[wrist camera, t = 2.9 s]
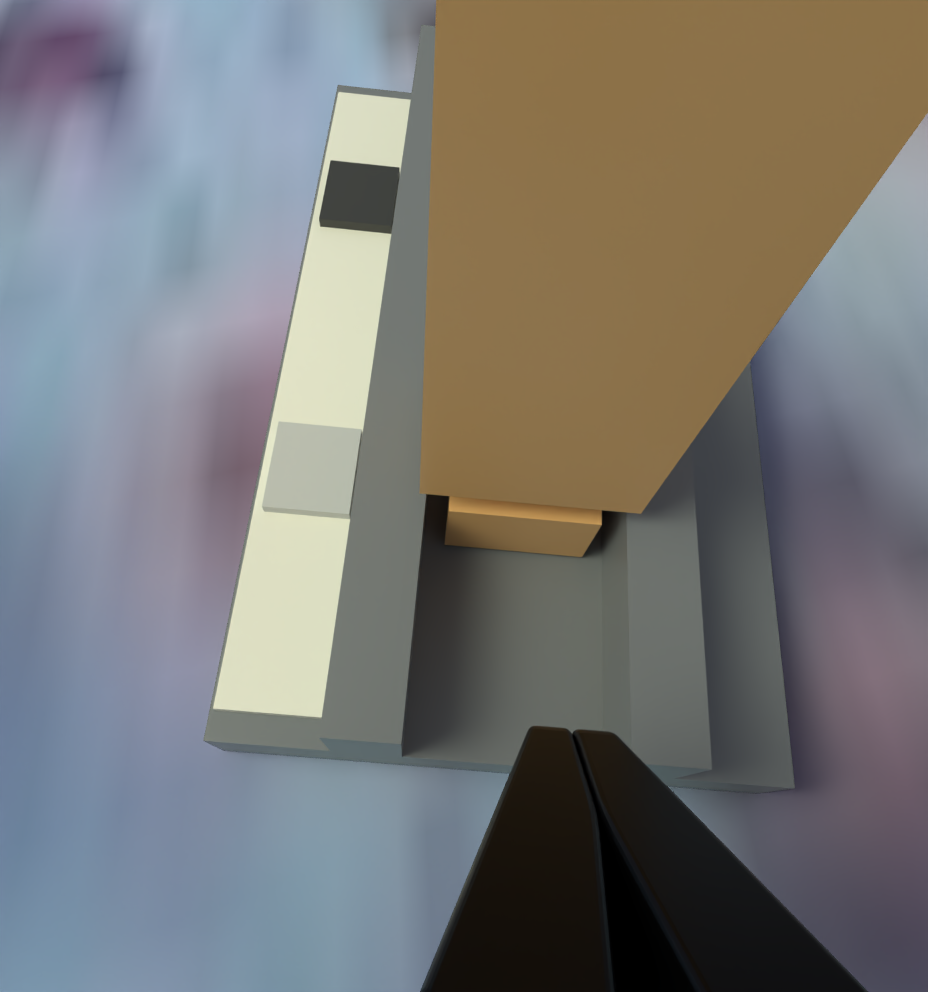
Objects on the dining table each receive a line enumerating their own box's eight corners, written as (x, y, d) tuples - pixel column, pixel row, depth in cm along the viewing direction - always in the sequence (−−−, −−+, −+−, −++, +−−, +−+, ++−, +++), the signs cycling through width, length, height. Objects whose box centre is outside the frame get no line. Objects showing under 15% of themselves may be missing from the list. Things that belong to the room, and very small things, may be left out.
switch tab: (608, 559, 14) (1140, -185, 4) (417, 542, 14) (444, -268, 4) (607, 447, 15) (1027, -379, 5) (429, 431, 15) (476, -453, 5)
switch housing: (758, 793, 14) (851, 780, 11) (223, 750, 14) (172, 725, 11) (704, 173, 21) (754, 62, 18) (342, 134, 21) (331, 14, 18)
